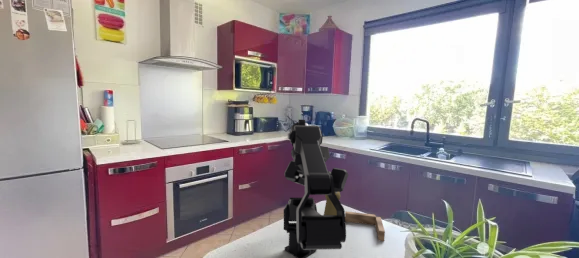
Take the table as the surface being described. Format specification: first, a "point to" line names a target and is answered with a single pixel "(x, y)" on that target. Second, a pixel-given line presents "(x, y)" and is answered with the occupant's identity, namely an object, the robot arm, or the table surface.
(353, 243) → the table surface
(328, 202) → the olive yellow tapered cone
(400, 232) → the table surface
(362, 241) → the table surface
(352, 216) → the v block
